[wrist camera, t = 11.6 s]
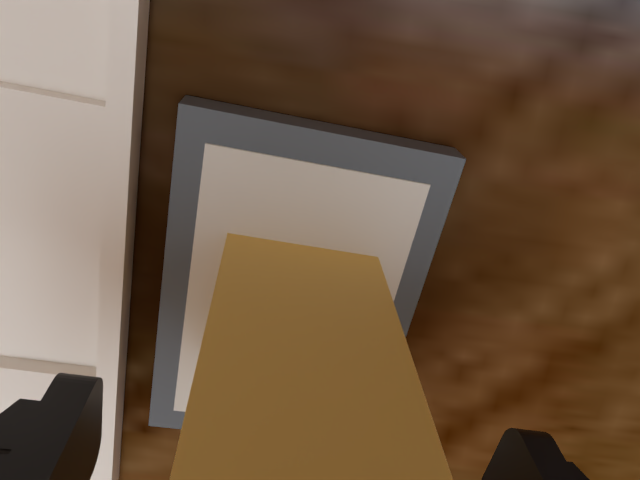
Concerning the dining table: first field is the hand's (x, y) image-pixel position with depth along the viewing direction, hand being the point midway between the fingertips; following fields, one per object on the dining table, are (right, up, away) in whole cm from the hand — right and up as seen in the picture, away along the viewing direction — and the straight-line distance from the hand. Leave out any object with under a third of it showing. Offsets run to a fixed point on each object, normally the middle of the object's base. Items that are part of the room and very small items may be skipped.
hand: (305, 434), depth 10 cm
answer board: (-1, +2, +5) cm, 6 cm away
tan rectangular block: (-1, +2, +4) cm, 5 cm away
